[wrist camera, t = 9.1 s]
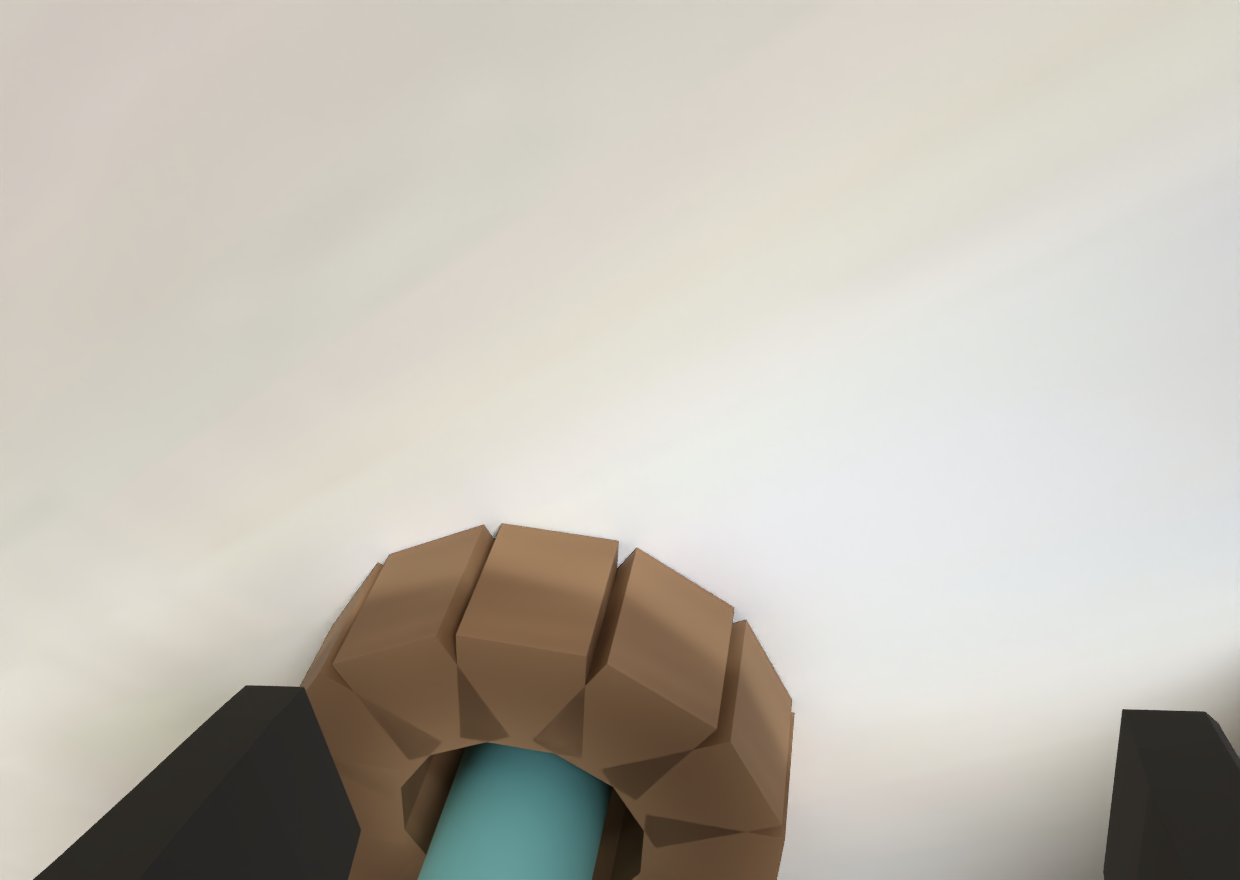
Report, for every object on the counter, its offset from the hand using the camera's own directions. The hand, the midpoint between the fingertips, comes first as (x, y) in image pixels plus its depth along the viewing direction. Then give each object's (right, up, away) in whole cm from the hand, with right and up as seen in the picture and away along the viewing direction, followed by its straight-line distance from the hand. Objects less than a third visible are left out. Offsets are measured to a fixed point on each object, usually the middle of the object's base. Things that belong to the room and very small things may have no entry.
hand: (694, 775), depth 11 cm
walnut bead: (-2, -3, +14) cm, 14 cm away
